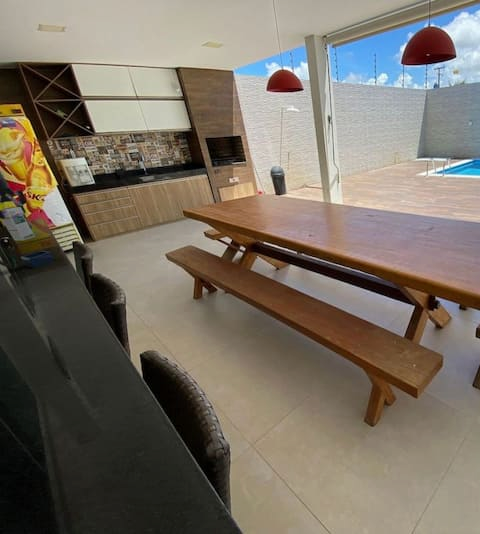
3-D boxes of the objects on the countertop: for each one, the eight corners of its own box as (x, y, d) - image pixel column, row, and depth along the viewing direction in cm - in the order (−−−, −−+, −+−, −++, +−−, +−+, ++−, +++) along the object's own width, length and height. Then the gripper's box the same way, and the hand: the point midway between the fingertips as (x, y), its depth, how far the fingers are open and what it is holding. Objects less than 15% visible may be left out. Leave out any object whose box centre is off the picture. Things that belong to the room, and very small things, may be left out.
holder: (34, 268, 144) (28, 258, 142) (26, 266, 147) (20, 256, 145) (55, 261, 151) (50, 252, 148) (46, 259, 154) (41, 250, 151)
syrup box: (24, 240, 140) (6, 209, 134) (13, 240, 141) (-5, 210, 135) (37, 236, 145) (21, 206, 139) (27, 236, 146) (10, 206, 140)
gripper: (9, 175, 139) (29, 211, 146) (-37, 181, 127) (-13, 220, 134) (17, 175, 136) (37, 212, 143) (-29, 182, 124) (-5, 221, 131)
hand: (13, 216), depth 138 cm, fingers closed on syrup box, 6 cm apart
